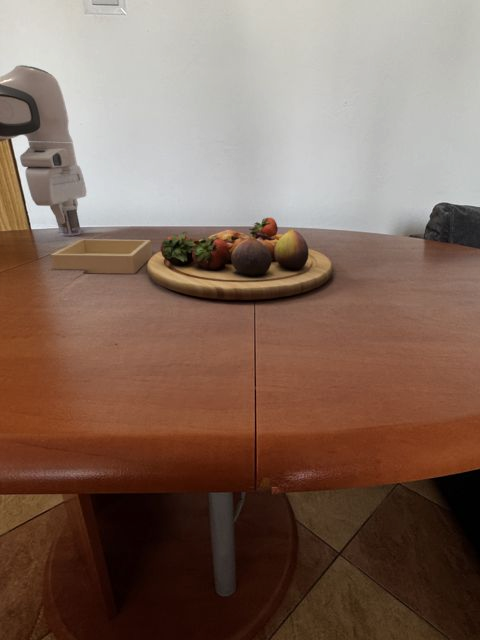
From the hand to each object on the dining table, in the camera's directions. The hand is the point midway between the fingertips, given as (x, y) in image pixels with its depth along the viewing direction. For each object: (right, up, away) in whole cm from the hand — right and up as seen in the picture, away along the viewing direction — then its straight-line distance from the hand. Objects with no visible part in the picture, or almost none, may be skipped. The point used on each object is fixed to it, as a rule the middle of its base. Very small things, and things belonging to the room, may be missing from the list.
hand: (68, 221), depth 91 cm
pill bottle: (0, -3, +2) cm, 3 cm away
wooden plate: (+43, -17, -24) cm, 53 cm away
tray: (+18, -15, -21) cm, 32 cm away
